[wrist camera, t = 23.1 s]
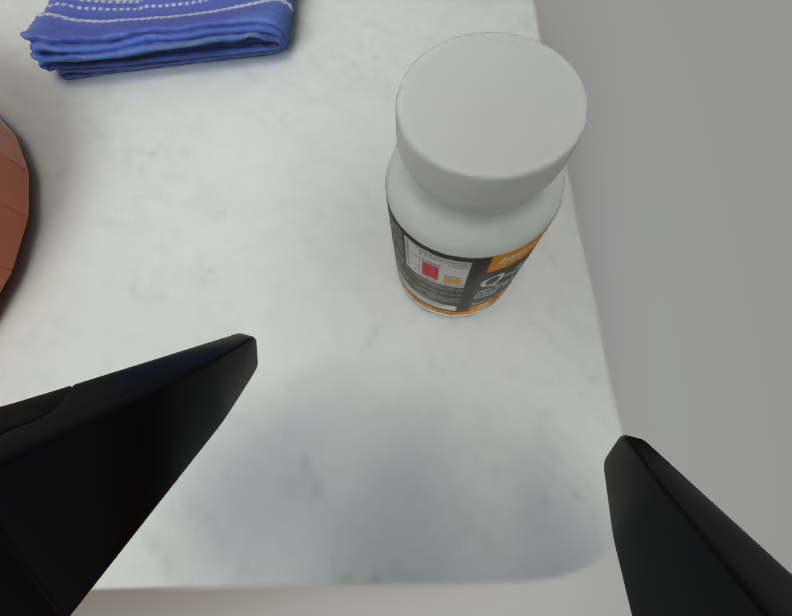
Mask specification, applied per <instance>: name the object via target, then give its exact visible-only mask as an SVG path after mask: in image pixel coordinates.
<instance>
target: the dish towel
mask: <svg viewBox="0 0 792 616" xmlns="http://www.w3.org/2000/svg"><path fill="white" fill-rule="evenodd" d="M293 3H294V0H49V4H48V6H47V7H46V9H45V11H44V13H41V14H38V15H37V16H36V18H35V20H34V21H33V22H32V24H31V25H30V26H29V28H28V29H27V31H25V32H21V33H20V34H21V36H22V37H23V38H24V39H26V40H29V41H30V42H31V44H30V49H31V50H32V53H31V54H30V55H31V57H32V58H33V59H35V60H37V61H39V66H40V67H41V68H43V69H46V70H48V71H50V72H51V71H54V70H58V71H59V75H60V77H62V78H63V79H66V80H68V79H75V78H81V77H90V76H94V75H98V74H108V73H116V72H126V71H134V70H142V69H150V68H157V67H165V66H172V65H180V64H188V63H196V62H204V61H213V60H223V59H232V58H240V57H249V56H258V55H266V54H271V53H275V52H278V51H280V50H282V49H284V48H285V47H286V45H287V43H288V39H289V31H290V22H291V17H292V15H293Z"/></svg>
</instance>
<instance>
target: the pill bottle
mask: <svg viewBox="0 0 792 616" xmlns="http://www.w3.org/2000/svg"><path fill="white" fill-rule="evenodd" d="M587 114H588V100H587V95H586V91H585V88H584V85H583V83H582V81H581V79H580V77H579V75H578V73H577V72H576V71H575V69H574V68H573V67H572V66H571V64H570V63H569V62H568V61H567V60H566V59H564V58H563V57H562V56H561V55H560V54H558V53H557V52H555V51H554V50H552V49H551V48H549V47H547V46H545V45H544V44H541V43H539V42H537V41H535V40H533V39H530V38H527V37H523V36H518V35H513V34H506V33H491V32H485V33H474V34H468V35H464V36H459V37H455V38H453V39H450V40H448V41H445V42H443V43H441V44H439V45H437V46H435V47H433V48H432V49H430V50H429V51H427V52H426V53H424V54H423V55H422V56H421V57H420V58H419V59H418V60H417V61H415V62H414V63H413V64H412V66H411V67H410V68H409V70H408V71H407V72H406V74H405V76H404V77H403V80H402V82H401V84H400V87H399V90H398V93H397V98H396V137H397V145H396V147H395V149H394V151H393V153H392V155H391V158H390V160H389V164H388V168H387V174H386V196H387V203H388V210H389V217H390V224H391V230H392V238H393V244H394V250H395V257H396V264H397V270H398V274H399V277H400V280H401V283H402V285H403V287H404V289H405V290H406V292H407V293H408V295H409V296H410V297H411V298H412V299H413V300H414V301H415V302H416V303H417V304H418V305H420V306H421V307H423V308H424V309H426V310H428V311H430V312H433V313H435V314H439V315H443V316H454V317H461V316H467V315H471V314H475V313H477V312H480V311H482V310H484V309H486V308H488V307H489V306H490V305H492V304H493V303H494V302H495V301H496V300H497V299H498V298H499V297H500V296H501V295H502V294H503V293H504V291H505V290H506V288H507V287H508V286H509V284H510V283H511V281H512V279H513V278H514V276H515V275H516V274H517V272H518V270H519V269H520V267H521V266H522V265H523V263H524V262H525V260H526V259H527V258H528V256H529V255H530V254H531V252H532V250H533V249H534V247H535V246H536V244H537V243H538V241H539V240H540V238H541V237H542V235H543V234H544V233H545V231H546V230H547V228H548V227H549V225H550V224H551V222H552V221H553V219H554V218H555V216H556V214H557V212H558V209H559V207H560V204H561V201H562V197H563V192H564V184H565V174H564V166H565V165H566V163H567V161H568V159H569V157H570V156H571V154H572V152H573V150H574V148H575V147H576V145H577V143H578V141H579V139H580V137H581V135H582V133H583V130H584V128H585V124H586V120H587Z"/></svg>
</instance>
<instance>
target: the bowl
mask: <svg viewBox="0 0 792 616" xmlns="http://www.w3.org/2000/svg"><path fill="white" fill-rule="evenodd" d="M28 217H29V170H28V168H27V165H26V162H25V159H24V156H23V154H22V151H21V148H20V145H19V143H18V140H17V137H16V136H15V134H14V133H13V132H12V131H11V130H10V129H9V128H8V127H7V126H6V125H5V123H4V122H3V121H2V120H1V119H0V293H1V291H2V289H3V287H4V285H5V284H6V282H7V280H8V278H9V277H10V275H11V273H12V270H13V268H14V264H15V261H16V258H17V254H18V251H19V248H20V244H21V241H22V238H23V234H24V231H25V228H26V224H27V221H28Z"/></svg>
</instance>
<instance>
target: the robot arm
mask: <svg viewBox="0 0 792 616" xmlns="http://www.w3.org/2000/svg"><path fill="white" fill-rule="evenodd" d="M257 364H258V358H257V343H256V339H255V338H254V337H253V336H249V335H245V334H241V333H238V334H235V335H232V336H229V337H225V338H222V339H219V340H216V341H213V342H209V343H206V344H203V345H200V346H197V347H193V348H190V349H187V350H184V351H181V352H177V353H174V354H171V355H168V356H164V357H161V358H158V359H155V360H152V361H148V362H145V363H142V364H139V365H136V366H132V367H129V368H126V369H123V370H120V371H116V372H113V373H110V374H107V375H104V376H100V377H97V378H94V379H91V380H88V381H84V382H81V383H78V384H75V385H74V386H73V387H71V386H68V387H65V388H62V389H59V390H55V391H52V392H49V393H46V394H43V395H39V396H36V397H33V398H29V399H26V400H23V401H19V402H16V403H13V404H9V405H5V406H2V407H0V616H70V615H71V614H72V613H73V611H74V610H75V609H76V608H77V606H78V605H79V604H80V603H81V601H82V600H83V599H84V597H85V596H86V595H87V594H88V592H89V591H90V590H91V589H92V587H93V586H94V585H95V584H96V582H97V581H98V580H99V578H100V577H101V576H102V575H103V573H104V572H105V571H106V570H107V568H108V567H109V566H110V564H111V563H112V562H113V561H114V559H115V558H116V557H117V556H118V554H119V553H120V552H121V550H122V549H123V548H124V547H125V545H126V544H127V543H128V542H129V540H130V539H131V538H132V537H133V535H134V534H135V533H136V531H137V530H138V529H139V528H140V526H141V525H142V524H143V523H144V521H145V520H146V519H147V517H148V516H149V515H150V514H151V512H152V511H153V510H154V509H155V507H156V506H157V505H158V503H159V502H160V501H161V500H162V498H163V497H164V496H165V495H166V493H167V492H168V491H169V489H170V488H171V487H172V486H173V484H174V483H175V482H176V481H177V479H178V478H179V477H180V475H181V474H182V473H183V472H184V470H185V469H186V468H187V467H188V465H189V464H190V463H191V462H192V460H193V459H194V458H195V456H196V455H197V454H198V453H199V451H200V450H201V449H202V448H203V446H204V445H205V444H206V442H207V441H208V440H209V439H210V437H211V436H212V435H213V434H214V432H215V431H216V430H217V428H218V427H219V426H220V425H221V423H222V422H223V421H224V419H225V418H226V416H227V415H228V413H229V412H230V410H231V409H232V407H233V405H234V404H235V402H236V401H237V399H238V397H239V396H240V394H241V393H242V391H243V390H244V388H245V386H246V385H247V383H248V382H249V380H250V379H251V377H252V375H253V374H254V372H255V370H256V368H257ZM604 472H605V480H606V487H607V495H608V502H609V510H610V517H611V525H612V531H613V537H614V542H615V546H616V551H617V555H618V559H619V563H620V567H621V571H622V575H623V580H624V584H625V588H626V592H627V596H628V600H629V605H630V609H631V613H632V616H792V574H791V573H790V572H788V571H787V570H786V569H785V568H784V567H783V566H782V565H781V564H780V563H779V562H777V561H776V560H775V559H774V558H773V557H772V556H771V555H770V554H769V553H767V552H766V551H765V550H764V549H763V548H762V547H761V546H760V545H759V544H758V543H757V542H755V541H754V540H753V539H752V538H751V537H750V536H749V535H748V534H747V533H746V532H745V531H743V530H742V529H741V528H740V527H739V526H738V525H737V524H736V523H735V522H733V521H732V520H731V519H730V518H729V517H728V516H727V515H726V514H725V513H724V512H723V511H721V510H720V509H719V508H718V507H717V506H716V505H715V504H714V503H713V502H712V501H710V500H709V499H708V498H707V497H706V496H705V495H704V494H702V492H701V491H699V490H698V489H697V488H696V487H695V486H694V485H693V484H692V483H691V482H690V481H688V480H687V479H686V478H685V477H684V476H683V475H682V474H681V473H680V472H679V471H678V470H676V469H675V468H674V467H673V466H672V465H671V464H670V463H669V462H668V461H666V460H665V459H664V458H663V457H662V456H661V455H660V454H659V453H658V452H657V451H655V450H654V449H653V448H652V447H651V446H650V445H649V444H648V443H647V442H646V441H644V440H642V439H639V438H635V437H631V436H627V435H623V436H621V437H620V438H619V439H618V440H617V442H616V443H615V445H614V446H613V448H612V449H611V451H610V452H609V454H608V455H607V457H606V459H605V463H604Z"/></svg>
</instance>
